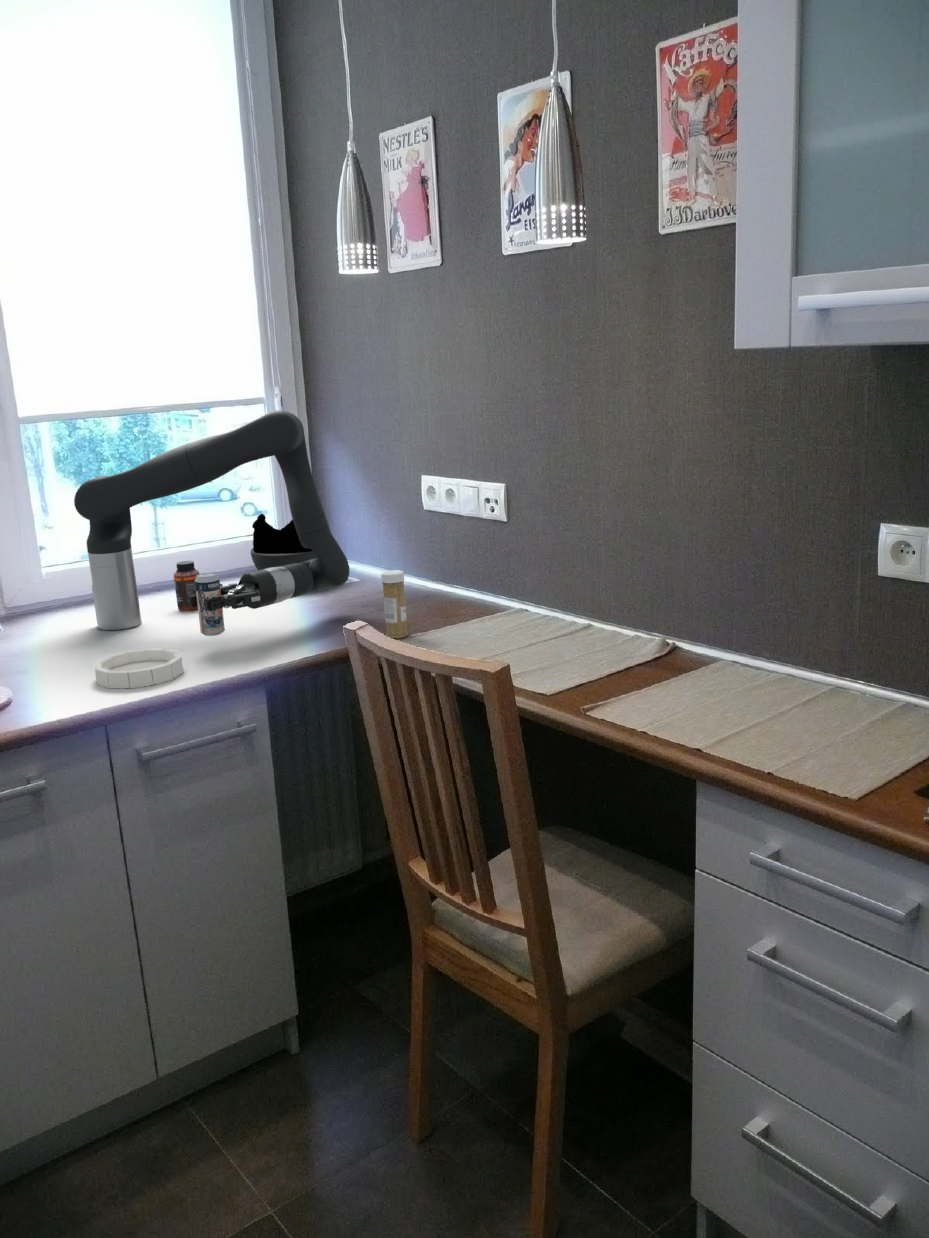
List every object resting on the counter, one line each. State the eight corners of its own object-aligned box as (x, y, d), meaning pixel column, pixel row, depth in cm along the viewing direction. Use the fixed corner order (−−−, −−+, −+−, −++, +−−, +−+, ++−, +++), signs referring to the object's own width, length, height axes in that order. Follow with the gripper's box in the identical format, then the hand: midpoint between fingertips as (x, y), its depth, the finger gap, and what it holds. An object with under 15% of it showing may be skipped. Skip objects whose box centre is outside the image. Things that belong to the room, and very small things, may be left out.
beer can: (204, 638, 203) (197, 578, 200) (198, 632, 207) (191, 574, 204) (228, 634, 205) (221, 575, 202) (221, 628, 209) (215, 571, 206)
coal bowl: (349, 580, 267) (343, 507, 262) (300, 597, 250) (292, 520, 246) (288, 575, 277) (282, 505, 272) (237, 592, 260) (229, 517, 256)
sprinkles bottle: (412, 636, 210) (407, 571, 207) (392, 640, 208) (388, 575, 204) (401, 631, 214) (396, 568, 211) (381, 636, 212) (376, 571, 208)
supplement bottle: (209, 607, 246) (203, 560, 243) (190, 613, 241) (184, 565, 238) (191, 605, 249) (185, 559, 246) (172, 610, 244) (166, 563, 241)
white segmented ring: (81, 679, 193) (79, 664, 192) (153, 659, 204) (151, 644, 203) (125, 693, 183) (123, 677, 182) (199, 671, 194) (197, 656, 193)
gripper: (244, 565, 218) (175, 581, 206) (287, 573, 209) (217, 589, 197) (247, 600, 220) (179, 617, 208) (290, 609, 211) (221, 627, 199)
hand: (198, 603), depth 203 cm, fingers closed on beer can, 4 cm apart
